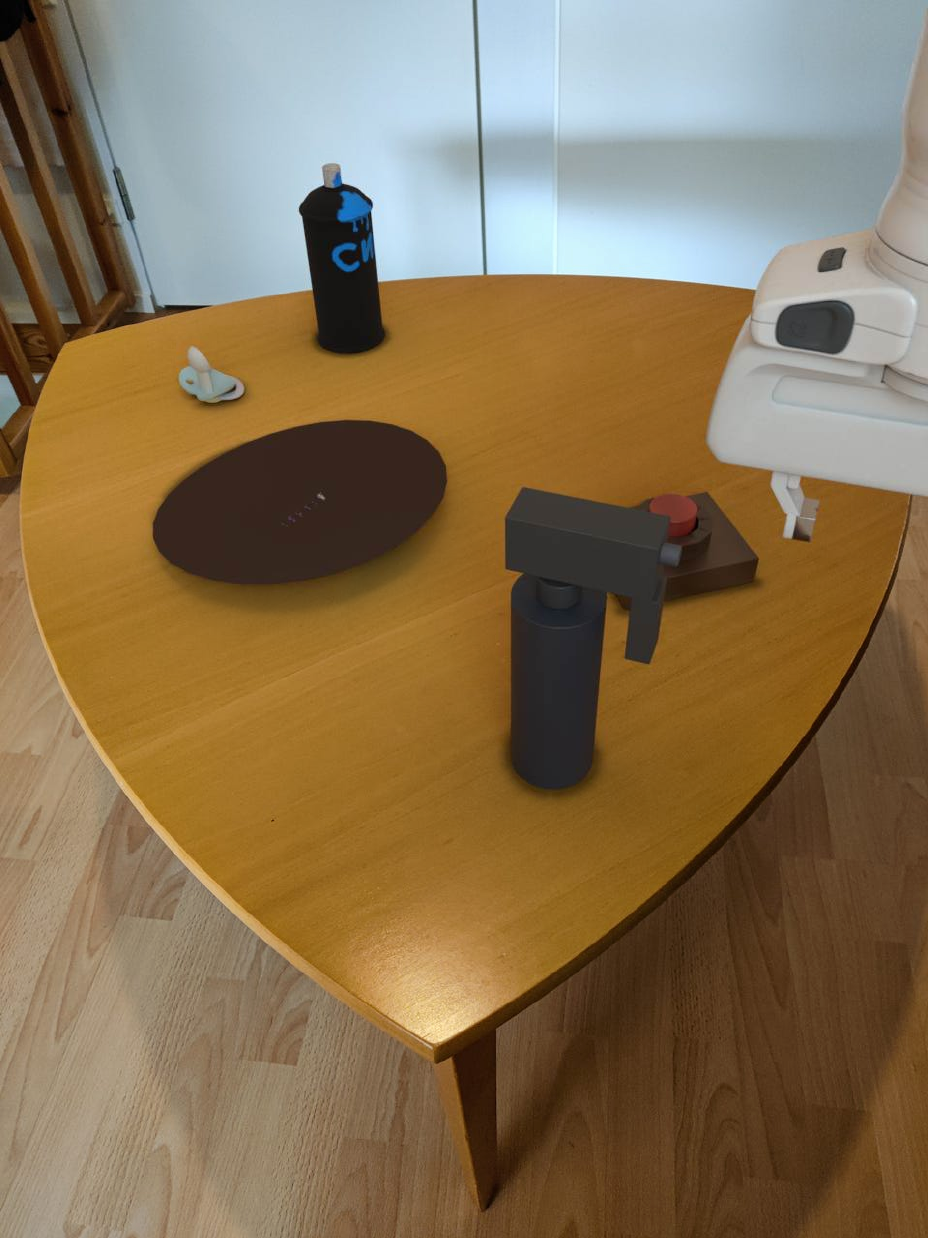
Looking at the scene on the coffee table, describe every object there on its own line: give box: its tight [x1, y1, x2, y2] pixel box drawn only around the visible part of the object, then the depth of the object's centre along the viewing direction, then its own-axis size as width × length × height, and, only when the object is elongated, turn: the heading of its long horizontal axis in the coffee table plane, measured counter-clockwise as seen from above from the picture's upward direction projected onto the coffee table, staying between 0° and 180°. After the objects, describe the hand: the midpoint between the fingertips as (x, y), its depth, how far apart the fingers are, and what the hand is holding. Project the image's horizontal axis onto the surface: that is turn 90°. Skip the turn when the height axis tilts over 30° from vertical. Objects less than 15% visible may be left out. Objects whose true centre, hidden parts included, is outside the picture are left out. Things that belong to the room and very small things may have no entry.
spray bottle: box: [504, 486, 682, 790], centre depth 65 cm, size 10×6×22 cm, turn 69°
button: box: [649, 493, 697, 537], centre depth 85 cm, size 4×4×2 cm
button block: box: [614, 491, 760, 611], centre depth 87 cm, size 12×10×4 cm
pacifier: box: [178, 345, 245, 404], centre depth 110 cm, size 7×6×6 cm
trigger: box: [624, 577, 667, 665], centre depth 61 cm, size 2×2×5 cm
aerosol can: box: [298, 162, 386, 354], centre depth 114 cm, size 8×8×20 cm
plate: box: [152, 419, 448, 585], centre depth 94 cm, size 28×28×4 cm
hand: (890, 551), depth 52 cm, fingers open, 8 cm apart
